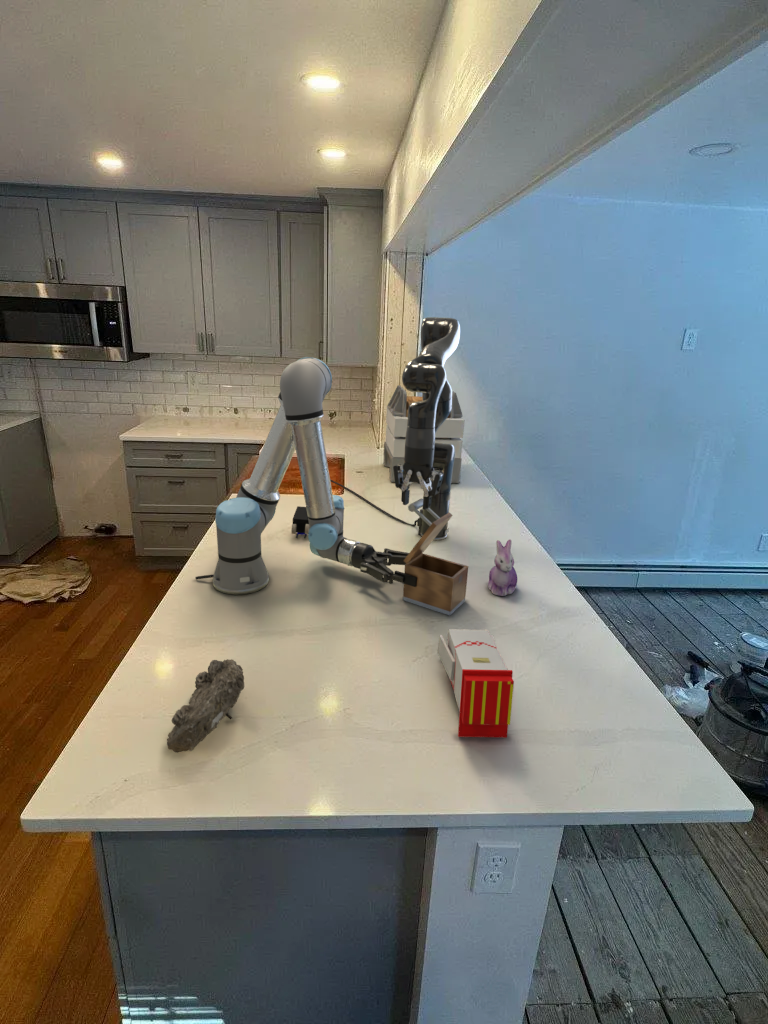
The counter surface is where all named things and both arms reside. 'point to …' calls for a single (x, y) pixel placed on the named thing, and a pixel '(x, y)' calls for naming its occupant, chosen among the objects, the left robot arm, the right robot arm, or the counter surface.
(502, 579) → the figurine
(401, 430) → the transformer
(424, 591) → the chest
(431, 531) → the lid
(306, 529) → the figurine character
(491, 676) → the toy
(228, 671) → the fossil
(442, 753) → the counter surface
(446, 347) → the right robot arm
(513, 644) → the counter surface
